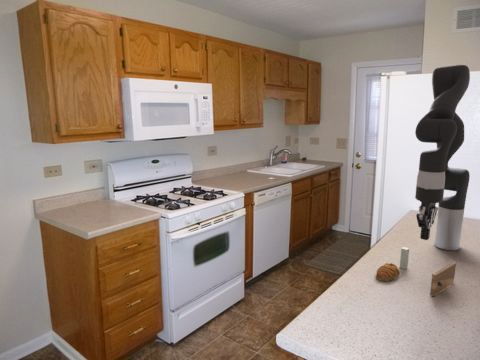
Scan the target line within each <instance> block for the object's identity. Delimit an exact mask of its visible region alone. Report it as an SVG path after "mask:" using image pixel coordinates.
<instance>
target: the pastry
mask: <svg viewBox="0 0 480 360" xmlns="http://www.w3.org/2000/svg"><path fill="white" fill-rule="evenodd" d="M400 275H401V272H400V268H398V266H397V265H396V264H394V263H391V262H389V263H388V262H386V263H384V264H382V265H380V266H379V267H378V269H377V270H376V275H375V277H376V279H377V280H380V281H383V282H389V281H394V280H395V279H397V278H398V277H399V276H400Z"/></svg>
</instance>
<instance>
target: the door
mask: <svg viewBox="0 0 480 360" xmlns="http://www.w3.org/2000/svg"><path fill="white" fill-rule="evenodd" d="M456 269H457V262H456V263H454V261H453V262H451V263H449V264H448V265H446V266H444V267H442V268H441V269H439V270H437V271H435V272H434V273H432V274H431V275H432V277H431V282H430V291H429V292H430V293H429V295H430V296H432V297H434V296H436V295H438V294H440V293H441V292H442V291H444V290H445V289H446V288H449V287H450V286H451V285H453V284H454V283H455V278H456V277H455V275H456Z"/></svg>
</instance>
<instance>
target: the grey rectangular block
mask: <svg viewBox="0 0 480 360" xmlns="http://www.w3.org/2000/svg"><path fill="white" fill-rule="evenodd" d="M409 255H410V248H409V247H406V246H403V247H401V249H400V260H399V262H400V263H399V269H403V270H407V269H408V267H409V264H408V263H409ZM453 262H454V263H456V264H457V261H453Z"/></svg>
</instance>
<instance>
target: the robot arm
mask: <svg viewBox="0 0 480 360" xmlns="http://www.w3.org/2000/svg"><path fill="white" fill-rule="evenodd" d="M470 75H471V72H470V68H469V66H467V65H466V64H457V65H449V66H448V65H447V66H440V67H436V68H435V69H434V70H433V72H432V75H431V85H432V95H433V101H432V103H431V105H430V108H429V111H428V112H427V113H426V114H425V115H424V116H423V117H422V118H421V119H420V120H419V121H418V123H417V124H416V127H415V131H414V132H415V137H416V139H417V140H418V141H419V142H421V143H431V144H432V143H433V144H436V148H435V149H429V150H424V151H421V153H420V156H419V164H418V173H417V177H416V186H415V199H416V200H417V201H419V202H420V203H421V204H420V205H419V206H418V212H419V213H416V215H415V217H416V221H417V224H418V227H419V228H420V237H419V238H420V240H424V241H428V240H429V239H430V234H431V228H432V227H433V225H434V223H435V220H436V224H435V233H434V243H433V245H434V246H435V247H436V248H437V249H438V248H439V249H441V250H446V251H458V250H460V245H461V239H462V232H463V231H462V230H463V223H464V217H465V206H466V201H467V200H466V199H467V194H468V189H469V183H470V176H471V175H470V171H469V170H468V169H465V168H457V167H449V161H450V160H451V159H452V157H454V155H455V153H456V152H457V151H458V150H459V149H460V148H461V147H462V145H463V143H464V142H465V123H464V122H463V120H462V118H461V117H460V116H459V115H458V114H457V113H456V109H457V107H458V105H459V103H460V102H461V100H462V98H463V97H464V96H465V94H466V92H467V90H468V89H469V85H470V79H471V77H470ZM445 191H453V192H456V193H455V194H454V195H451V196H445V197H444V195H445ZM436 205H438V206H436Z"/></svg>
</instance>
